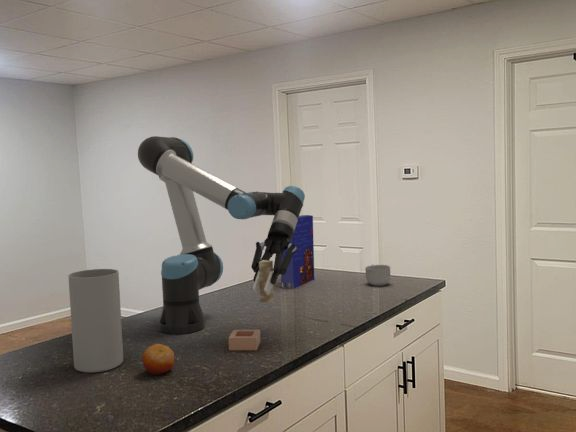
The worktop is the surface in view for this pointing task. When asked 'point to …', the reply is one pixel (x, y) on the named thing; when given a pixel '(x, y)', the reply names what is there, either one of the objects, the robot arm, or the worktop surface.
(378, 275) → the teacup
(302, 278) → the cereal box
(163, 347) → the fruit
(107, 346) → the cylinder vase
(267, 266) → the beige tall square post
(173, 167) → the robot arm
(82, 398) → the worktop surface
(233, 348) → the orange-brown square frame
